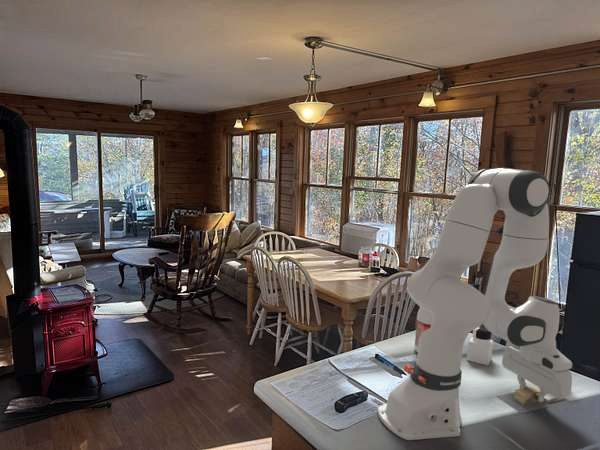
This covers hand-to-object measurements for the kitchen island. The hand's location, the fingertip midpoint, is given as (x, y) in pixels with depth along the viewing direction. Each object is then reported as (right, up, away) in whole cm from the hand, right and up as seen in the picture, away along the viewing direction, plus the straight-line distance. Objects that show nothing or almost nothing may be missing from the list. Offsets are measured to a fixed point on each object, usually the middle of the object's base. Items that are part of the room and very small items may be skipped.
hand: (531, 395), depth 122 cm
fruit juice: (-21, +3, +31) cm, 38 cm away
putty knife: (+2, -1, +1) cm, 2 cm away
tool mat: (+1, -2, +1) cm, 2 cm away
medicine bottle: (-4, +2, +26) cm, 27 cm away
